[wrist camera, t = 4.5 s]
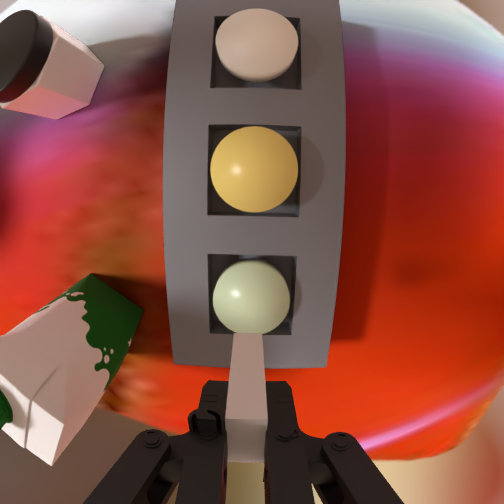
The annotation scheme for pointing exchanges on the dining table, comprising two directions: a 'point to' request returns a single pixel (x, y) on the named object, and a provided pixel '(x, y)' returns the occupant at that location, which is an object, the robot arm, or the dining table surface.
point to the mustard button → (254, 169)
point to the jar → (44, 67)
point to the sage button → (251, 296)
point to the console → (254, 223)
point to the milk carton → (63, 364)
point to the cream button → (256, 44)
